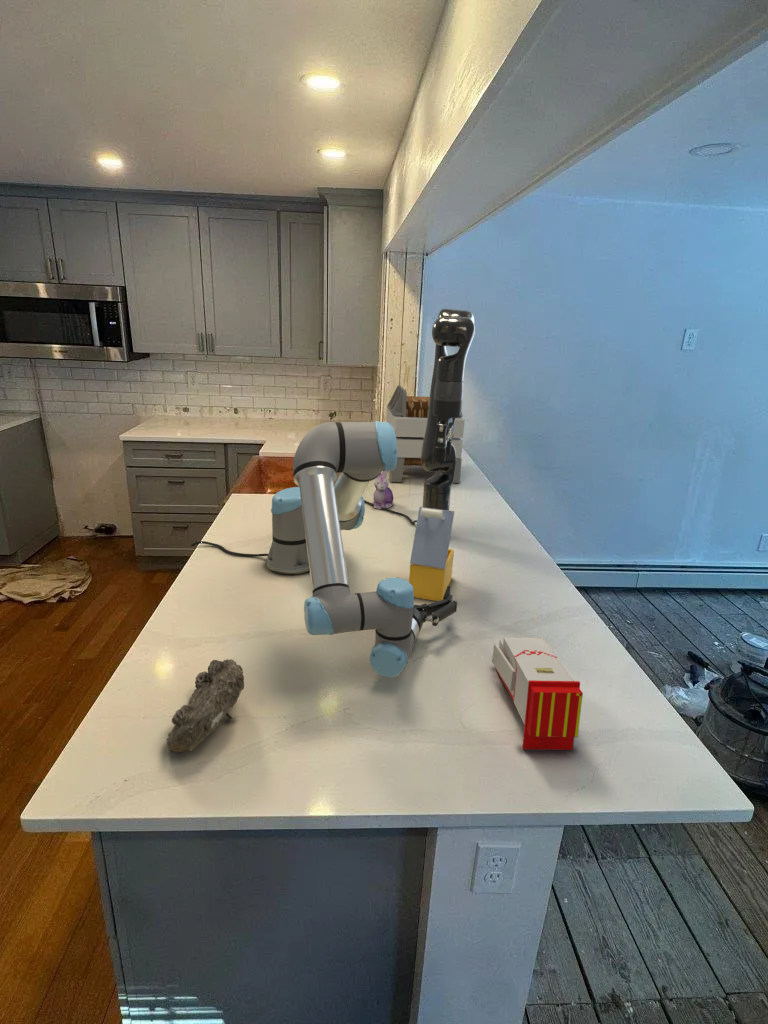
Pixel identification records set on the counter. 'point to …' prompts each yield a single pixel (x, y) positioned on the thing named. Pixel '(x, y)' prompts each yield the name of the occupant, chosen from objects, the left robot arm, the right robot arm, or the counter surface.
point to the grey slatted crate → (415, 431)
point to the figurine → (382, 492)
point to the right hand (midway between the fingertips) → (443, 458)
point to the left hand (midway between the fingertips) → (423, 586)
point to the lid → (432, 537)
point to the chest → (431, 579)
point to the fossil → (206, 705)
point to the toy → (540, 692)
